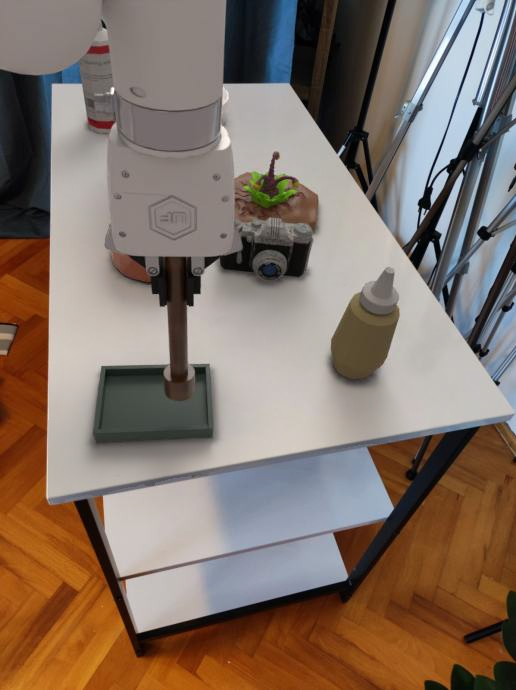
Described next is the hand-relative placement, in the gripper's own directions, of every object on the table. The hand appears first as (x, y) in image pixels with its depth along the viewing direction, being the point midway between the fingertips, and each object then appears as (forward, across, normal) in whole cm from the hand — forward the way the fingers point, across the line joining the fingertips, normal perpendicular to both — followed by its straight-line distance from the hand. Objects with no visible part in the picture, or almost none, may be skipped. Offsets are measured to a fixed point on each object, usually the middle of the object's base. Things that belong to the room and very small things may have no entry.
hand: (176, 296), depth 50 cm
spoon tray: (+20, -3, 0) cm, 20 cm away
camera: (+20, +14, +26) cm, 35 cm away
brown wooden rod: (+13, 0, -2) cm, 14 cm away
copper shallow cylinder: (+20, -4, +30) cm, 36 cm away
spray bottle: (+20, -16, +76) cm, 80 cm away
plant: (+20, +17, +44) cm, 51 cm away
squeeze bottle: (+20, +25, +6) cm, 32 cm away
